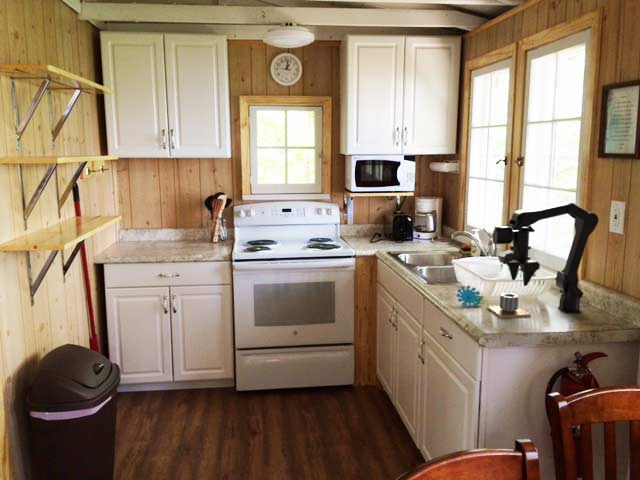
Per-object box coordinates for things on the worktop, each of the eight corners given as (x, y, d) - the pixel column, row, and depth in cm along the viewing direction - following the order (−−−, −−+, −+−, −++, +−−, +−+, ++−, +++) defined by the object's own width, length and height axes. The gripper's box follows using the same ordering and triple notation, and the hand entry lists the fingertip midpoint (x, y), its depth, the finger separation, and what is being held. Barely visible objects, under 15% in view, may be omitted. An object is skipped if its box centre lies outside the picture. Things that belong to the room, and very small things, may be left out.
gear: (457, 304, 220) (457, 283, 226) (453, 311, 225) (453, 290, 231) (485, 308, 220) (483, 286, 226) (480, 314, 225) (479, 293, 231)
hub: (512, 304, 218) (513, 292, 217) (520, 309, 212) (521, 297, 211) (496, 305, 217) (497, 293, 216) (504, 310, 211) (505, 298, 210)
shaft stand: (515, 307, 221) (516, 292, 220) (530, 316, 210) (531, 300, 208) (487, 308, 220) (487, 293, 219) (500, 318, 208) (501, 301, 207)
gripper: (490, 240, 220) (489, 278, 222) (512, 249, 202) (511, 290, 204) (516, 238, 221) (514, 276, 224) (541, 247, 203) (539, 288, 206)
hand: (519, 282), depth 215 cm, fingers open, 9 cm apart
